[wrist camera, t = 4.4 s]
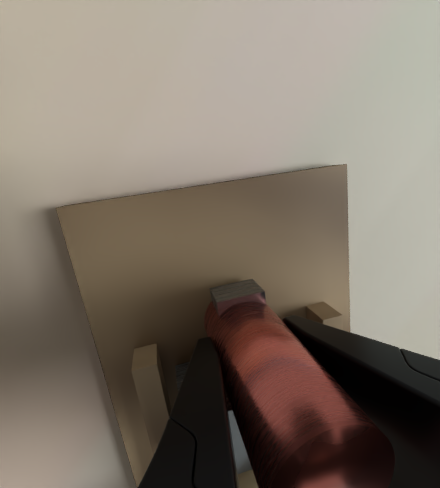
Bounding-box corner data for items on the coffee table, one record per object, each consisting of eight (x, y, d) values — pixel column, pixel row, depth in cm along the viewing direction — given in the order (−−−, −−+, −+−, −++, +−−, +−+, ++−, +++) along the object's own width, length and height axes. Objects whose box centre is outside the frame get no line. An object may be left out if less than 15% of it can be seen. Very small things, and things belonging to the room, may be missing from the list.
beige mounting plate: (342, 446, 15) (427, 568, 10) (151, 516, 13) (149, 702, 8) (333, 165, 11) (461, 154, 6) (64, 205, 9) (-28, 231, 5)
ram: (303, 382, 12) (441, 570, 6) (186, 418, 11) (220, 679, 5) (295, 269, 10) (461, 374, 5) (161, 298, 9) (169, 474, 4)
